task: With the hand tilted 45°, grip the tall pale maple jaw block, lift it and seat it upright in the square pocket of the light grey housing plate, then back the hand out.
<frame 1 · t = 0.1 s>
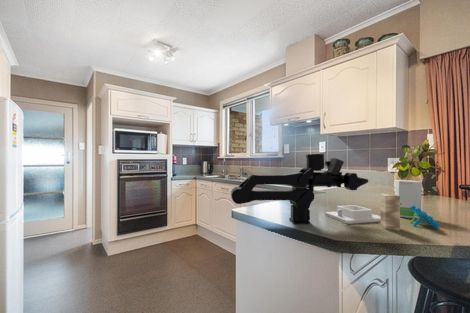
hand: (360, 179, 92), 17 cm above the counter, tool horizontal, fingers open, 9 cm apart
blue cog crank toy: (423, 227, 84), on the counter
jaw block: (389, 227, 82), on the counter
skincare box: (407, 216, 99), on the counter
housing: (353, 217, 96), on the counter
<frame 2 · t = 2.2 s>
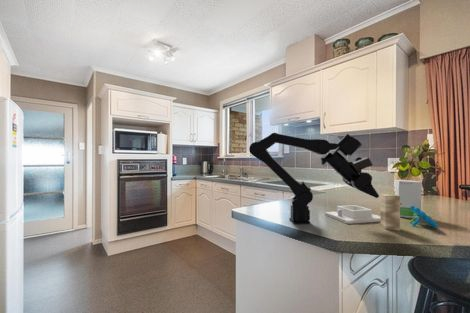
hand: (373, 195, 83), 12 cm above the counter, tool tilted 45°, fingers open, 9 cm apart
nothing on the counter moved.
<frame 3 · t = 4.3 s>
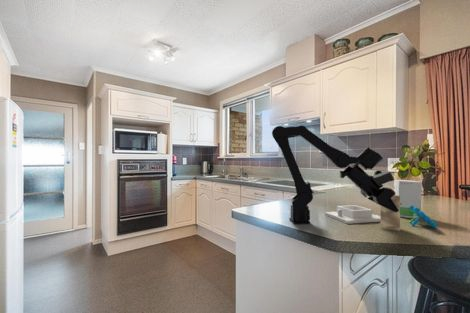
hand: (394, 209, 82), 7 cm above the counter, tool tilted 45°, fingers closed on jaw block, 4 cm apart
jaw block: (390, 227, 82), on the counter, touching gripper
everything else where it was.
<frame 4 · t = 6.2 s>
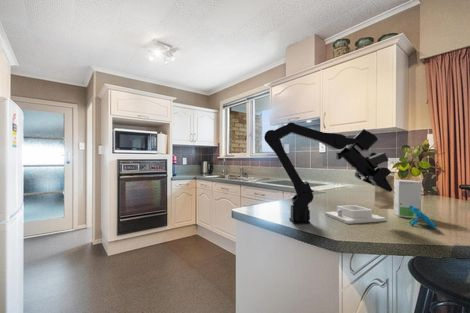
hand: (388, 190, 84), 13 cm above the counter, tool tilted 45°, fingers closed on jaw block, 4 cm apart
jaw block: (383, 207, 85), point 7 cm above the counter, touching gripper
everything else where it was.
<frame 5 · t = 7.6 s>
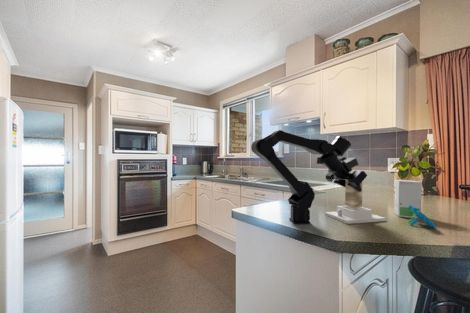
hand: (356, 190, 96), 12 cm above the counter, tool tilted 45°, fingers closed on jaw block, 4 cm apart
jaw block: (353, 205, 96), point 5 cm above the counter, touching gripper
everything else where it was.
when the fingers open (9 cm above the counter, at t = 8.4 s): jaw block drops 1 cm, resting on housing.
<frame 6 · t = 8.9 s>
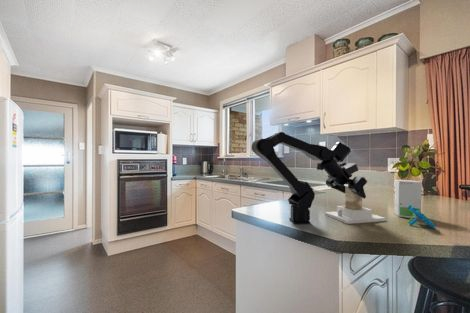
hand: (356, 195, 96), 9 cm above the counter, tool tilted 45°, fingers open, 9 cm apart
jaw block: (353, 214, 96), point 1 cm above the counter, touching housing
everything else where it was.
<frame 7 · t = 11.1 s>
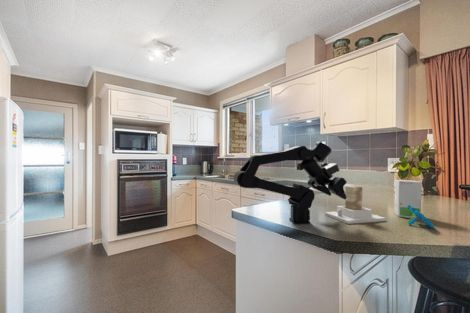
hand: (337, 196, 94), 9 cm above the counter, tool tilted 45°, fingers open, 9 cm apart
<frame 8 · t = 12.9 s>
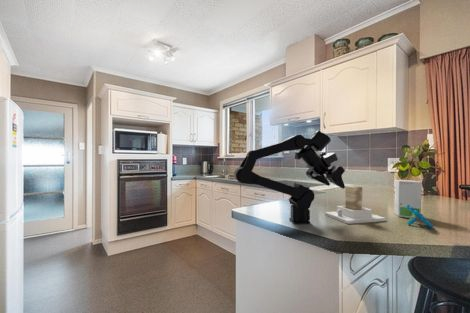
hand: (336, 186, 93), 14 cm above the counter, tool tilted 45°, fingers open, 9 cm apart
at the end: jaw block 0.0 cm off-centre on the housing, point 1.2 cm above the housing's base; jaw block tilted 0°; the gripper is holding nothing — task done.
